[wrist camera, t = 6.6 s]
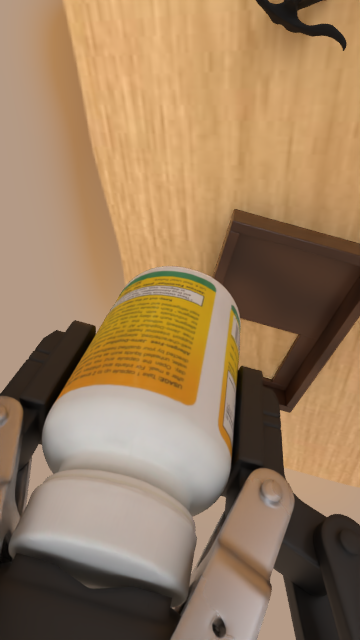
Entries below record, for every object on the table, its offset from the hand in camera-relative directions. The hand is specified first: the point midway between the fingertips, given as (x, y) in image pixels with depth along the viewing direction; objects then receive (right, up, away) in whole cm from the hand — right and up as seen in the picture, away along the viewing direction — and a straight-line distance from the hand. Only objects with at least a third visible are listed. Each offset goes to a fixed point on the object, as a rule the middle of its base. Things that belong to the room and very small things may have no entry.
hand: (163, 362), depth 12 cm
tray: (+9, +2, +19) cm, 21 cm away
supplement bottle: (+1, +2, +3) cm, 3 cm away
